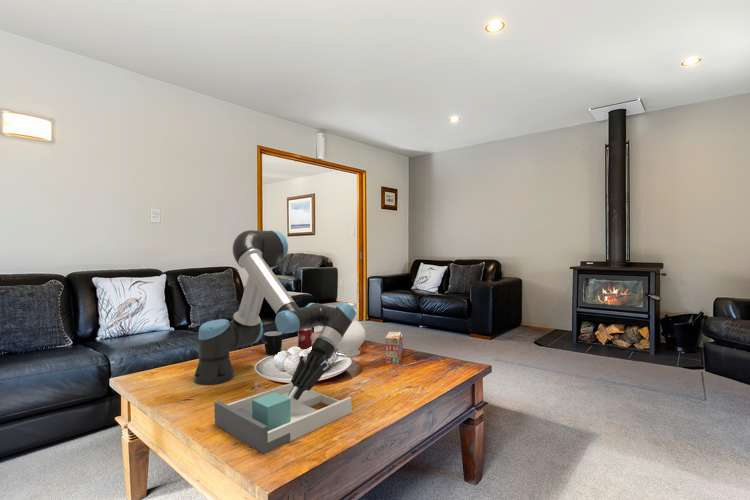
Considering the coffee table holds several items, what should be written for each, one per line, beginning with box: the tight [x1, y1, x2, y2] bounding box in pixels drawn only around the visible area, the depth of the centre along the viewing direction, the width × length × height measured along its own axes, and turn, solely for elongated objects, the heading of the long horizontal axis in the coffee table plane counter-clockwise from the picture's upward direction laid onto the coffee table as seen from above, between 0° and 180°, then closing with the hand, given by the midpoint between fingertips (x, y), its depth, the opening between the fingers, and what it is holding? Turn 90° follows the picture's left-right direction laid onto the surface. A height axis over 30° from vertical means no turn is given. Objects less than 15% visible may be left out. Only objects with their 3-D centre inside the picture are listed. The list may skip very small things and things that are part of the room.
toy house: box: [384, 331, 404, 365], centre depth 194 cm, size 21×6×12 cm, turn 171°
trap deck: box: [214, 382, 353, 455], centre depth 127 cm, size 34×26×7 cm
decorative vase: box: [335, 302, 366, 357], centre depth 201 cm, size 18×18×25 cm
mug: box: [263, 331, 283, 356], centre depth 199 cm, size 12×9×10 cm
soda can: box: [297, 327, 313, 349], centre depth 203 cm, size 7×7×12 cm
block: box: [252, 392, 291, 431], centre depth 119 cm, size 8×8×7 cm
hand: (286, 407), depth 123 cm, fingers closed
